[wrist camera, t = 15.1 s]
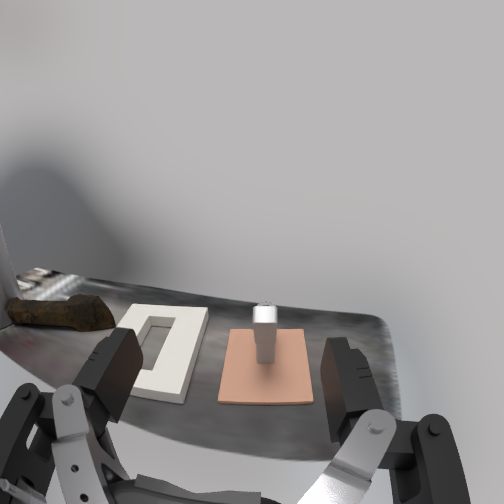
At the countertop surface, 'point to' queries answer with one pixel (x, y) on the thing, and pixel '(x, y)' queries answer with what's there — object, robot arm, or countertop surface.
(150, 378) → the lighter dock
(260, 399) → the mat
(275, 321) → the lighter
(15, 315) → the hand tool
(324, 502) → the robot arm
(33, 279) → the countertop surface
